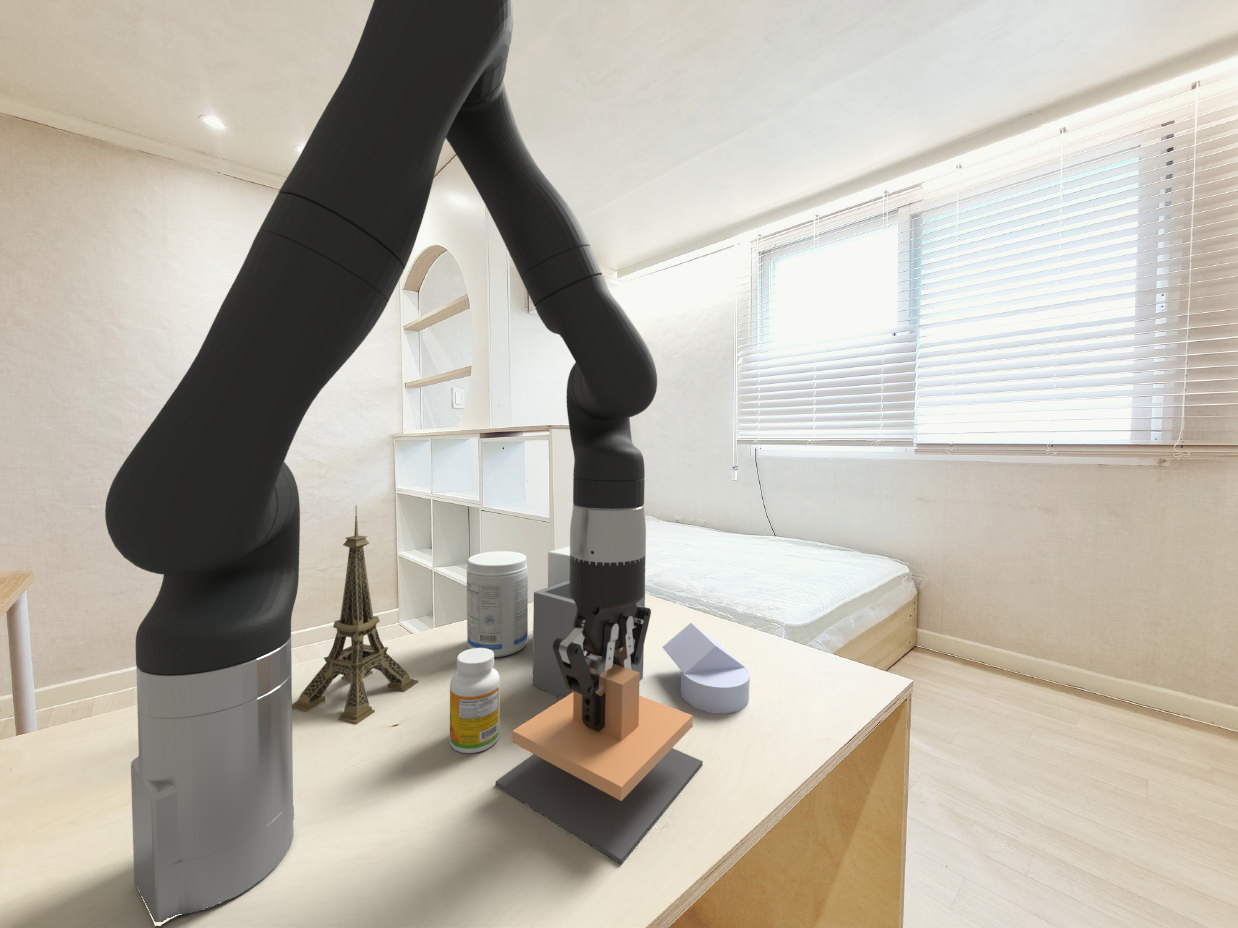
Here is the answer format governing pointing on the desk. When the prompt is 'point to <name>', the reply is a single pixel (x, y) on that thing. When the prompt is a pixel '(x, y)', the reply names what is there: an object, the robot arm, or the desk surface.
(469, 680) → the supplement bottle
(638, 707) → the lid
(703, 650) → the wedge on round base
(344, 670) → the eiffel tower
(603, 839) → the rubber mat
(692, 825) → the desk surface
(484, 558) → the supplement tub
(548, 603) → the storage box
